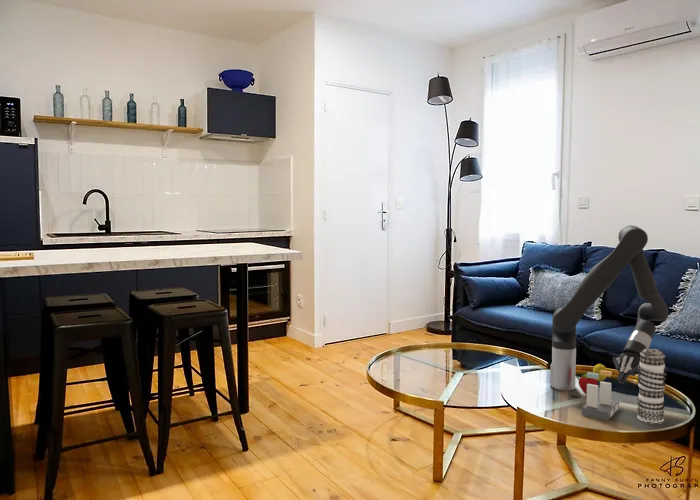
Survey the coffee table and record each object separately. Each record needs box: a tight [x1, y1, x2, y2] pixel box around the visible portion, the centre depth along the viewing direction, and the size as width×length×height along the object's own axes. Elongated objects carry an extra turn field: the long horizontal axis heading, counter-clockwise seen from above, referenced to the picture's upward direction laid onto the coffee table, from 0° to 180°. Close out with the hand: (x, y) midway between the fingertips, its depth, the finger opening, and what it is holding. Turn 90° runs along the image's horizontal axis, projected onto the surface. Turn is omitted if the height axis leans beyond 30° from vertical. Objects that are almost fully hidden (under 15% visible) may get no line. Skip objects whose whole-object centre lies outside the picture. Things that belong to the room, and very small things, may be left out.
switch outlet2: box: [599, 370, 613, 405], centre depth 208 cm, size 4×2×12 cm, turn 51°
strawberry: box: [578, 373, 599, 396], centre depth 226 cm, size 6×8×10 cm
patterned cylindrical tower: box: [636, 348, 668, 424], centre depth 201 cm, size 9×9×25 cm
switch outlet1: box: [586, 371, 599, 408], centre depth 205 cm, size 4×2×12 cm, turn 51°
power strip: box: [581, 396, 620, 422], centre depth 211 cm, size 9×19×3 cm, turn 141°
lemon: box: [592, 363, 608, 383], centre depth 242 cm, size 6×6×8 cm
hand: (620, 382), depth 215 cm, fingers closed
